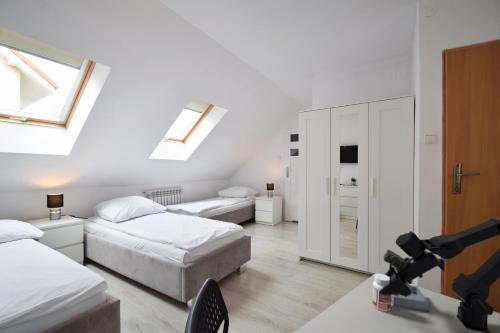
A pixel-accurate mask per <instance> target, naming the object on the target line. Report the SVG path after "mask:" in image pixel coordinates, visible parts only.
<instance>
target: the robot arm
mask: <svg viewBox="0 0 500 333" xmlns="http://www.w3.org/2000/svg"><path fill="white" fill-rule="evenodd" d="M497 236H500V218H499V217H492V218H490V219H489V220H486V221H485V222H483V223H482V222H481V223H480V224H477V225H474V226H472V227H469V228H467V229H464V230H461V231H458V232H456V233H452V234H440V235H436V236H432V237H431V238H427V239H420V238H419V236H417V234H416V233H415V232H414V231H409V232H405V233H403V234H400V235H398V237H397V238H396V240H395V244H396V246H398V248H400V249H401V250H402V251H403V252H404V253H405V254H406V255H407V256H406V257H401V256H400V255H399V254H397V253H396V252H394V251H392V250H391V249H387V250H386V252H385V254H384V255H383V261H384V262H386V263H388V264H389V267H388V269H387V271H386V272H385V273H384V275H386V276H388V277H390V279H389V283H388V284H387V285H386V286H384V287H383V288H382V289H381V290H380V291H379V293H380V294H381V295H402V296H405V297H407V296H409V295H411V287H410V285H412V284H413V280H415V279H418V278H419V279H422V278H424V274H426V273H427V272H429V271H431V270H433V269H435V268H436V267H438V268H439V269H440V270H441V271H443V272H444V271H445V266H446V262H445V261H444V259H445V260H448V261H449V260H452V259H454V258H456V257H457V256H459V255H462V253H463V252H464V250H465V249H467V248H468V247H472V246H474V245H476V244H479V243H481V242H484V241H486V240H490V239H492V238H495V237H497ZM427 250H428V251H427ZM436 255H437V256H438V257H440V258H438V257H437V256H436ZM499 279H500V247H499V248H498V250H496V251H495V252H494V253H493V254H492V255H491V256H490V257H489V258H488V259H486V261H484V263H483V264H482V265H481V266H479V267H478V268H476V270H475V271H474V272H473V273H470V274H467V275H466V274H465V273H464V272H461V273H460V274H459V275H458V276H457V277H456V278H454V279H452V281H453V282H452V284H451V289H452V292H453V293H454V295H456V297H457V299H458V300H459V306H457V314H455V317H456V318H457V320H458V321H460V323H461V324H462V325H463V326H464V328H466V329H468V330H472V331H473V330H474V331H479V332H485V333H491V330H490V329H489V327H488V318H489V316H492V315H493V314H494V312H495V308H494V307H492V305H490V304H489V302H487V300H488V298H489V296H490V291H491V290H490V288H491V286H492V285H493V284H495V283H496V282H497V281H498V280H499Z"/></svg>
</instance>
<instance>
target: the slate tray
mask: <svg viewBox="0 0 500 333" xmlns="http://www.w3.org/2000/svg"><path fill="white" fill-rule="evenodd" d="M409 285H410V287H411V295H409V296H407V297H405V296H402V295H392V298H391V305H393V307H396V308H403V309H408V310H409V309H410V310H414V311H420V312H426V313H429V312H430V302H429V301H428V299H427V297H426V296H425V295H424V293H423V292H422V290H421V289H420V287H418V286H417V285H412V284H409Z"/></svg>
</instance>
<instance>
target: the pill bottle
mask: <svg viewBox="0 0 500 333" xmlns="http://www.w3.org/2000/svg"><path fill="white" fill-rule="evenodd" d="M373 279H374V281H373V282H372V300H371V302H372V303H371V304H372V306H373V307H374V308H375V309H376V310H377V311H378V310H379V311H380V312H390V311H391V310H392V302H391V298H392V295H381V294H380V293H379V291H380V290H381V289H382V288H383V287H384V286H386V285H387V284H388V283H389V279H390V277H388V276H386V275H385V273H384V274H383V273H376V274H374V278H373Z"/></svg>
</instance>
